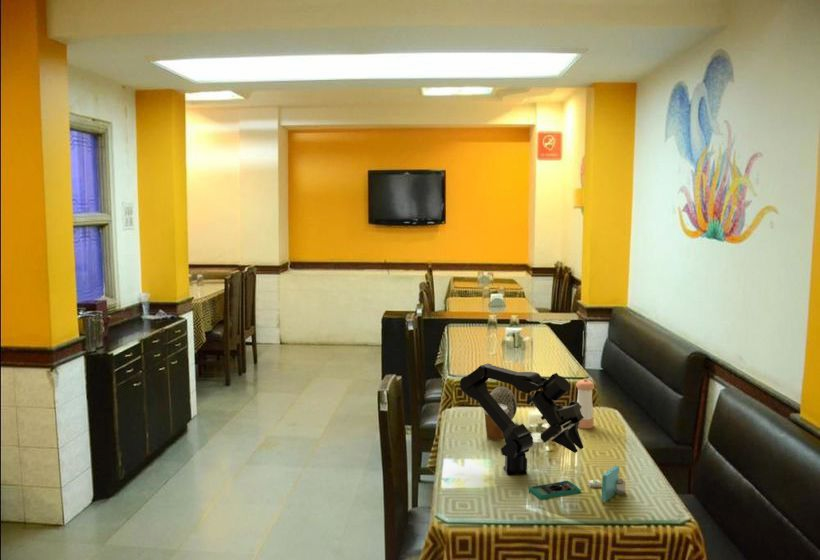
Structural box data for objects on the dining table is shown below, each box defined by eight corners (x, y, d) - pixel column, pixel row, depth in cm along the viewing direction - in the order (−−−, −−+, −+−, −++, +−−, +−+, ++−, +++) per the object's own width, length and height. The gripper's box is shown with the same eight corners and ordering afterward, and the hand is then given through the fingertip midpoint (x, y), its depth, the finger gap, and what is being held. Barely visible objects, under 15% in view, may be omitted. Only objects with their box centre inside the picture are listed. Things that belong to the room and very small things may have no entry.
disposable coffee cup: (512, 436, 252) (512, 405, 250) (501, 443, 244) (502, 412, 242) (489, 431, 257) (489, 401, 255) (478, 438, 249) (478, 408, 247)
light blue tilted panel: (613, 486, 205) (614, 460, 204) (627, 490, 202) (628, 464, 201) (596, 500, 196) (597, 473, 195) (610, 505, 193) (611, 477, 192)
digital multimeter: (582, 497, 202) (582, 488, 201) (540, 505, 197) (540, 495, 196) (569, 487, 209) (569, 478, 208) (527, 494, 204) (527, 485, 203)
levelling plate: (601, 506, 195) (602, 493, 194) (586, 486, 208) (586, 474, 207) (634, 505, 195) (635, 492, 195) (616, 485, 209) (617, 473, 208)
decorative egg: (508, 429, 259) (509, 392, 257) (482, 424, 265) (482, 387, 263) (521, 421, 268) (521, 385, 266) (494, 416, 275) (495, 381, 273)
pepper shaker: (595, 428, 260) (597, 381, 257) (576, 428, 260) (578, 381, 257) (590, 422, 267) (592, 376, 264) (572, 422, 267) (574, 376, 265)
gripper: (550, 401, 197) (583, 445, 191) (578, 387, 211) (610, 428, 205) (526, 420, 203) (558, 464, 197) (555, 406, 217) (586, 446, 211)
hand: (579, 450), depth 202 cm, fingers open, 4 cm apart
